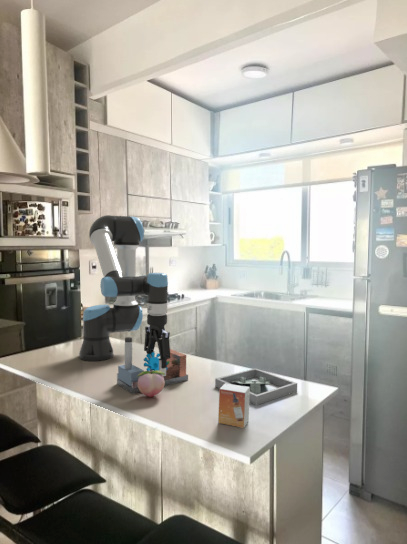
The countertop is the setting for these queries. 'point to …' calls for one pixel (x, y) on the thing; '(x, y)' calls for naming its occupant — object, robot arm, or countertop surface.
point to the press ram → (128, 365)
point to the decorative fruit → (151, 382)
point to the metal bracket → (253, 384)
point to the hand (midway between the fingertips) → (156, 373)
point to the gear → (153, 362)
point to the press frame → (173, 373)
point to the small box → (234, 405)
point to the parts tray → (261, 398)
